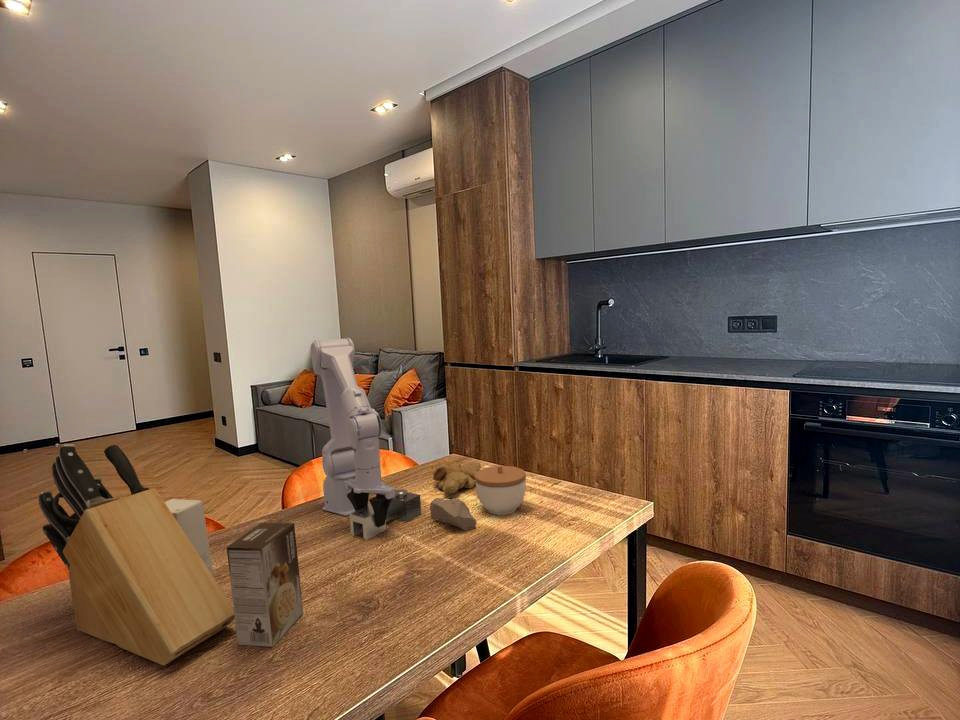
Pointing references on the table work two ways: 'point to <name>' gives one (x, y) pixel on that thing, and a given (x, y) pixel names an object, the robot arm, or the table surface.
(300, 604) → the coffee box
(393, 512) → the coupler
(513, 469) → the lidded bowl
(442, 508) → the concrete fragment
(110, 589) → the knife block
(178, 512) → the skincare box
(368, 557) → the table surface
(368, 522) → the notched block with hole
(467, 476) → the ginger root
